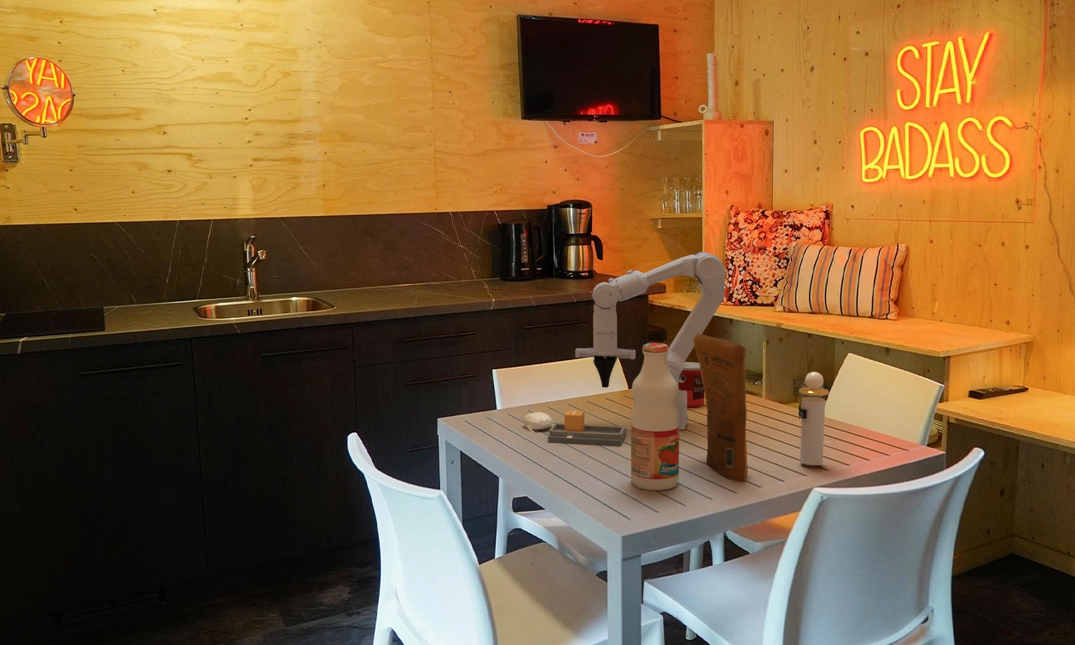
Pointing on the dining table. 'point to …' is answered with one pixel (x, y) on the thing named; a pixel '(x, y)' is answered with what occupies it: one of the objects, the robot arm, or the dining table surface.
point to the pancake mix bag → (724, 404)
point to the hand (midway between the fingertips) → (605, 386)
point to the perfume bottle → (812, 420)
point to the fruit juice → (655, 423)
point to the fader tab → (574, 421)
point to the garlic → (537, 421)
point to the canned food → (692, 384)
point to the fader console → (588, 435)
